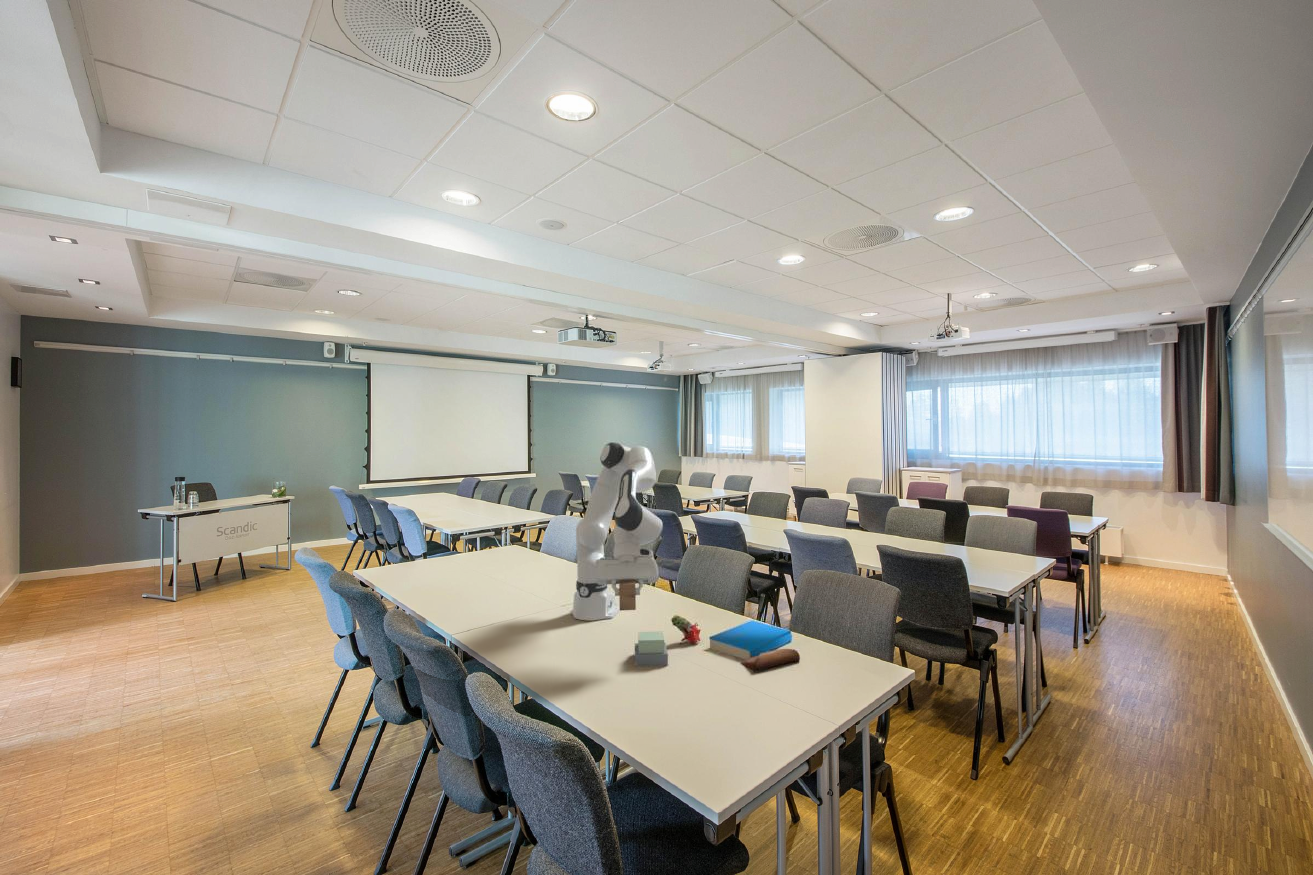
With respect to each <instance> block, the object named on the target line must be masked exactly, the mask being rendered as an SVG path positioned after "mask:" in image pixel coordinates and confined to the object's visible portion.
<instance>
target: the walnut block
mask: <svg viewBox="0 0 1313 875" xmlns="http://www.w3.org/2000/svg"><path fill="white" fill-rule="evenodd" d="M618 588H619V596H618V597H619V599H618V600H619V605H620V610H619V612H620V611H636V610H637V609H636V607H637V603H636V601H637V600H636V596H637V595H635V588H636V584H635V580H627V581H619V584H618Z"/></svg>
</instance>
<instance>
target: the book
mask: <svg viewBox="0 0 1313 875" xmlns="http://www.w3.org/2000/svg"><path fill="white" fill-rule="evenodd" d="M708 639H709V649H711V650H716V651H718V652H722V653H724V654H727V655H731V656H734V657H737V658H740V659H743V660H744V661H745V660H747V659H749V658H752V657H755V656H758V655H760V654H761V653H765V652H769V651H774V650H776V649H777V648H779V647H782V646H783V645H785V644H787V643H789V642H791V641H792V640H793V634H792V631H791V630H789V629H787V628H783V627H779V626H775V625H770V624H767V623H763V622H759V621H755V620H749V621H746V622H744V623H742V624H739V625H737V626H734V627H731V628H729V629H727V630H724V631H721V632H718V633H716V634H714V635H711V636H709V637H708Z"/></svg>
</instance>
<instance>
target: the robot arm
mask: <svg viewBox="0 0 1313 875" xmlns="http://www.w3.org/2000/svg"><path fill="white" fill-rule="evenodd" d="M599 460H600V463H601V465H602V466H603V468H602V470H601V471H600V472H599V475H598V477H597V479H596V481H595V484H594V487H593V489H592V491H591V494H590V497H589V499H588V502H587V507H586V510H585V513H584V516H583V518H582V519H580V520H579V521H578V523H577V525H576V529H575V534H576V536H575V537H576V559H577V563H576V565H577V566H576V567H577V570H576V571H577V580H576V583H575V590H576V591H575V593H574V594H573V606H572V609H571V610H570V615H572V616H573V618H574V619H576V620H580V621H599V620H600V621H601V620H604V619H606V620H607V619H612V618H614V617H615V615H616V614H617V613H618V612H620V604H617V603H616V596H617V597H619V587H617V585H619V581H627V580H635V585H636V584H638V587H635V595H636V596H640V595H641V590H642V589H643V587H644V584H657V583H658V581H659V577H660V576H659V569H658V564H657V560H656V559H655V558H654V552H653V550H651V549H647V548H643V547H641V546H646V545H650V544H652V543H655V542H656V541H658V540H659V539H660V537H661V536H662V533H663V531H664V522H663V521H662V519H661V518H660V517H658V516H657V515H656V514H654V513H653V512H651V511H650V510H648V509H647V508H646V507H644V506H643V505H642V504H641V503H639V502H640V501H638V500H637V493H645V492H647V491H649V490H651V489H652V488H653V487H654V485H656V482H657V471H656V466H655V464H656V463H655V461H654V457H653V455H652V453H651V451H650V449H649V448H648V447H645V446H643V445H637V446H634V447H629V446H626V445H623V444H621V443H619V442H609V443H608V442H607V444H606V445H604V447H603V449H602V451H601V453H600V458H599ZM613 516H614V527H613V528H614V529H613V542H614V545H613V556H611V557H605V551H604V550H605V549H604V548H605V546H604V544H605V542H606V539H607V538H608V537H607V536H608V534H609V530H610V528H611V524H612V520H613ZM609 585H611V588H612V589H613V591H614V593H613V592H612V591H611V590H610V589H609V588H608V586H609Z"/></svg>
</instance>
